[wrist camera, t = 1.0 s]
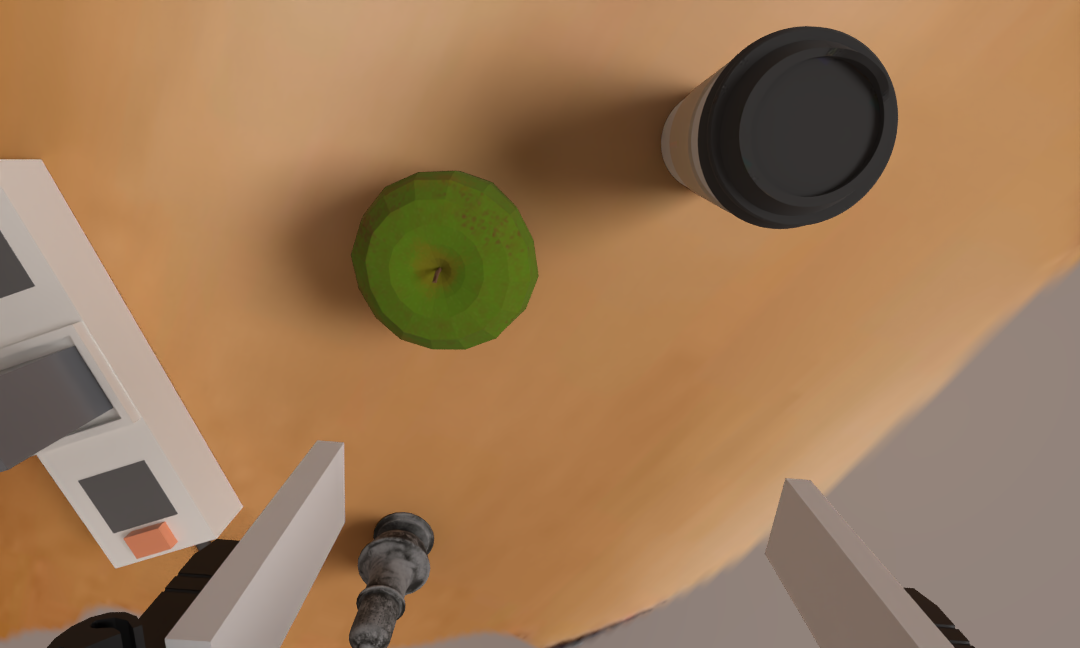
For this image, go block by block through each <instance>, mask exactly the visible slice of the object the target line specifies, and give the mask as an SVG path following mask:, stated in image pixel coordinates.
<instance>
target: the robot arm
mask: <svg viewBox="0 0 1080 648" xmlns="http://www.w3.org/2000/svg"><path fill="white" fill-rule="evenodd" d="M344 523H345V483H344V443H342V442H330V441H318V440H317V441H316V443H315V444H314V445H313V447H312V448H311V449H310V451H309V452H308V453H307V454H306V456H305V457H304V458H303V460H302V461H301V462H300V464H299V465H298V466H297V467H296V469H295V470H294V471H293V473H292V474H291V475H290V477H289V478H288V479H287V480H286V482H285V483H284V484H283V486H282V487H281V488H280V490H279V491H278V492H277V493H276V495H275V496H274V497H273V499H272V500H271V501H270V503H269V504H268V505H267V506H266V508H265V509H264V510H263V512H262V513H261V514H260V516H259V517H258V518H257V519H256V521H255V522H254V523H253V525H252V526H251V527H250V529H249V530H248V531H247V532H246V534H245V535H244V536H243V538H242V539H241V540H240V541H236V540H222V539H216V540H215V541H213V542H212V543H210V544H209V545H207V546H206V547H204V548H203V549H201V550H200V551H198V552H197V553H195V554H194V555H193V556H192V557H191V559H190V560H189V561H188V562H187V563H186V564H185V566H184V567H183V568H182V569H181V570H180V571H179V573H178V576H175V577H174V578H173V580H172V581H171V582H170V583H169V584H168V585H167V586H166V588H165V591H164V592H161V593H160V595H159V596H158V597H157V598H156V599H155V600H154V602H153V603H152V604H151V605H150V606H149V607H148V609H147V610H146V611H145V612H144V613H143V614H142V616H141V617H140V618H139V619H138V618H137V616H134V615H132V614H129V613H126V612H110V613H105V614H102V615H98V616H94V617H90V618H88V619H86V620H84V621H82V622H80V623H78V624H76V625H74V626H72V627H70V628H69V629H67V630H66V631H65V632H63V633H62V634H60V635H59V636H58V637H56V638H55V639H54V640H53V641H52V642H51V644H50V645H49V646H48V647H47V648H280V646H281V645H282V643H283V641H284V639H285V637H286V635H287V633H288V631H289V629H290V627H291V625H292V623H293V621H294V620H295V618H296V616H297V614H298V612H299V610H300V608H301V606H302V604H303V602H304V600H305V598H306V596H307V595H308V593H309V591H310V589H311V587H312V585H313V583H314V581H315V579H316V577H317V575H318V573H319V571H320V570H321V568H322V566H323V564H324V562H325V560H326V558H327V556H328V554H329V552H330V550H331V548H332V546H333V545H334V543H335V541H336V539H337V537H338V535H339V533H340V531H341V529H342V527H343V525H344ZM765 555H766V556H767V558H768V560H769V561H770V563H771V565H772V566H773V568H774V570H775V572H776V573H777V575H778V577H779V578H780V580H781V582H782V584H783V585H784V587H785V589H786V590H787V592H788V594H789V595H790V597H791V599H792V601H793V602H794V604H795V606H796V607H797V609H798V611H799V613H800V614H801V616H802V618H803V619H804V621H805V623H806V625H807V626H808V628H809V630H810V631H811V633H812V635H813V637H814V638H815V640H816V642H817V643H818V645H819V647H820V648H975V647H974V646H970V644H969V641H968V639H967V638H966V637H965V636H964V635H963V634H962V633H961V632H960V631H959V629H955V625H954V624H953V623H952V622H951V621H950V620H949V618H948V617H946V615H945V614H944V613H943V612H942V611H941V610H940V608H939V607H938V606H937V605H935V604H934V603H933V602H931V601H930V600H929V599H927V598H926V597H925V596H923V595H922V594H920V593H919V592H918V591H916V590H915V589H914V588H903V587H902V586H901V585H900V584H899V582H898V581H897V580H896V579H895V578H894V577H893V576H892V574H891V573H890V572H889V571H888V570H887V569H886V567H885V566H884V565H883V564H882V563H881V562H880V561H879V559H878V558H877V557H876V556H875V555H874V554H873V552H872V551H871V550H870V549H869V548H868V547H867V545H866V544H865V543H864V542H863V541H862V540H861V538H860V537H859V536H858V535H857V534H856V533H855V531H854V530H853V529H852V528H851V527H850V526H849V524H848V523H847V522H846V521H845V520H844V519H843V518H842V516H841V515H840V514H839V513H838V512H837V511H836V509H835V508H834V507H833V506H832V505H831V504H830V502H829V501H828V500H827V499H826V498H825V497H824V495H823V494H822V493H821V492H820V491H819V490H818V488H817V487H816V486H815V485H814V484H813V483H812V481H811V480H802V479H789V478H785V482H784V486H783V489H782V493H781V497H780V500H779V504H778V508H777V511H776V515H775V519H774V522H773V526H772V530H771V533H770V537H769V541H768V545H767V548H766V552H765Z"/></svg>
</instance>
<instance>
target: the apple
mask: <svg viewBox="0 0 1080 648" xmlns="http://www.w3.org/2000/svg"><path fill="white" fill-rule="evenodd" d="M351 257H352V262H353V266H354V270H355V274H356V279H357V283H358V287H359V290H360V291H361V293H362V295H363V296H364V298H365V300H366V302H367V303H368V305H369V307H370V309H371V310H372V312H373V314H374V315H375V317H376V318H377V319H378V320H379V321H380V322H382V323H383V324H384V325H385V326H386V327H387V328H388V329H390V330H391V331H392V332H393V333H394V334H395V335H396V336H398V337H399V338H400V339H401V340H404V341H408V342H411V343H414V344H417V345H420V346H424V347H427V348H430V349H468V348H471V347H473V346H476V345H479V344H482V343H484V342H487V341H490V340H492V339H495V338H497V337H498V336H499V335H500V334H501V332H502V331H503V330H504V329H505V328H506V327H507V326H508V325H510V324H511V323H512V322H513V321H514V320H515V319H516V318H517V317H518V316H519V315H520V314H521V313H522V312H523V311H524V310H525V309H526V307H527V304H528V302H529V299H530V297H531V294H532V292H533V289H534V286H535V284H536V281H537V279H538V269H537V262H536V255H535V248H534V241H533V238H532V236H531V234H530V232H529V230H528V228H527V226H526V224H525V222H524V221H523V219H522V217H521V215H520V213H519V211H518V209H517V207H516V206H515V205H514V204H513V203H512V202H511V201H510V200H509V199H508V198H507V197H506V196H505V195H504V194H503V193H502V192H501V191H500V190H499V189H498V188H497V187H496V186H495V185H494V184H493V183H492V182H490V181H487V180H484V179H481V178H478V177H475V176H473V175H470V174H467V173H464V172H461V171H440V172H418V173H416V174H413V175H411V176H409V177H407V178H404V179H402V180H400V181H398V182H395V183H393V184H391V185H389V186H387V187H385V188H384V189H383V191H382V192H381V193H380V194H379V196H378V197H377V198H376V200H375V201H374V202H373V204H372V205H371V206H370V207H369V209H368V210H367V211H366V213H365V214H364V215H363V218H362V220H361V223H360V226H359V229H358V233H357V236H356V240H355V243H354V246H353V250H352V253H351Z"/></svg>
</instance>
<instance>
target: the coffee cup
mask: <svg viewBox="0 0 1080 648" xmlns="http://www.w3.org/2000/svg"><path fill="white" fill-rule="evenodd" d="M897 126H898V108H897V100H896V95H895V91H894V87H893V84H892V82H891V79H890V77H889V75H888V73H887V71H886V69H885V67H884V66H883V64H882V63H881V61H880V60H879V59H878V57H877V56H876V55H875V54H874V53H873V52H872V51H871V50H870V49H869V48H868V47H867V46H865V45H864V44H863V43H862V42H860V41H859V40H857V39H855V38H854V37H852V36H850V35H848V34H845V33H843V32H840V31H837V30H833V29H829V28H822V27H809V26H805V27H793V28H788V29H783V30H780V31H777V32H774V33H771V34H769V35H766V36H764V37H762V38H760V39H759V40H757V41H755V42H753V43H752V44H750V45H749V46H747V47H746V48H745V49H744V50H742V51H741V52H740V53H739V54H738V55H736V56H735V57H734V58H733V59H732V60H731V61H730V62H729V63H728V64H726V65H725V66H724V67H722V68H721V69H720V70H718V71H717V72H716V73H714V74H713V75H712V76H710V77H709V78H708V79H706V80H705V81H704V82H703V83H701V84H700V85H699V86H697V87H696V88H695V89H694V90H693V91H691V92H690V94H689V95H688V96H687V97H686V98H685V99H683V100H682V101H681V102H680V103H679V104H678V105H677V106H676V107H675V108H674V109H673V110H672V112H671V113H670V115H669V116H668V118H667V120H666V122H665V125H664V128H663V132H662V137H661V150H662V156H663V159H664V162H665V165H666V167H667V169H668V170H669V172H670V173H671V174H672V176H673V177H674V178H675V179H676V180H677V181H678V182H680V183H681V184H683V185H684V186H686V187H688V188H689V189H691V190H692V191H693V192H694V193H696V194H698V195H699V196H701V197H703V198H705V199H706V200H708V201H710V202H712V203H713V204H715V205H717V206H719V207H720V208H722V209H724V210H726V211H727V212H730V213H732V214H733V215H735V216H736V217H738V218H739V219H741V220H743V221H745V222H748V223H750V224H753V225H756V226H760V227H765V228H772V229H788V228H795V227H800V226H805V225H810V224H815V223H819V222H822V221H825V220H828V219H830V218H833V217H835V216H837V215H839V214H841V213H842V212H844V211H846V210H847V209H849V208H850V207H852V206H853V205H854V204H856V203H857V202H858V201H859V200H860V199H861V198H863V197H864V196H865V195H866V194H867V192H868V191H869V190H870V189H871V188H872V187H873V186H874V184H875V183H876V182H877V180H878V179H879V177H880V176H881V174H882V172H883V171H884V169H885V167H886V165H887V163H888V161H889V158H890V156H891V153H892V150H893V147H894V143H895V139H896V134H897Z"/></svg>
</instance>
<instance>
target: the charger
mask: <svg viewBox="0 0 1080 648" xmlns="http://www.w3.org/2000/svg"><path fill="white" fill-rule="evenodd" d="M112 408H114V407H113V406H112V404H111V403H110V401H109V399H108V398H107V396H106V395H105V393H104V391H103V390H102V388H101V387H100V385H99V383H98V382H97V380H96V379H95V377H94V375H93V374H92V372H91V371H90V369H89V367H88V366H87V364H86V363H85V361H84V360H83V358H82V356H81V355H80V353H79V352H78V350H77V348H76V347H75V346H72V347H69V348H66V349H63V350H60V351H57V352H54V353H51V354H48V355H45V356H42V357H39V358H36V359H33V360H30V361H27V362H24V363H21V364H19V365H16V366H13V367H10V368H7V369H4V370H1V371H0V472H2V471H6V470H9V469H10V468H12V467H14V466H15V465H17V464H19V463H20V462H22V461H24V460H26V459H27V458H29V457H31V456H32V455H34V454H36V453H37V452H39V451H41V450H43V449H44V448H46V447H48V446H49V445H51V444H53V443H54V442H56V441H58V440H59V439H61V438H63V437H65V436H66V435H68V434H70V433H71V432H73V431H75V430H76V429H78V428H80V427H82V426H83V425H85V424H87V423H88V422H90V421H92V420H93V419H95V418H97V417H98V416H100V415H102V414H104V413H105V412H107V411H109V410H110V409H112Z"/></svg>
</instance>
